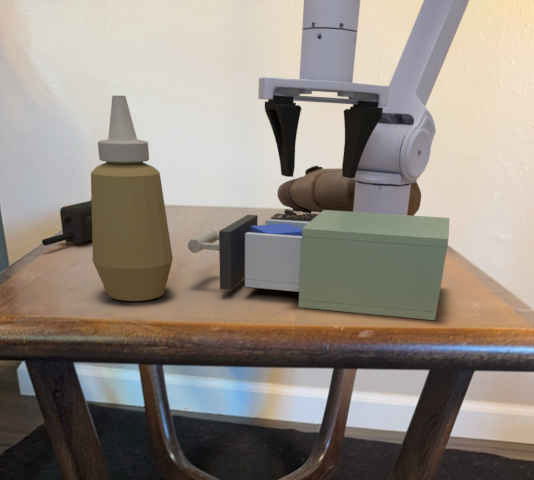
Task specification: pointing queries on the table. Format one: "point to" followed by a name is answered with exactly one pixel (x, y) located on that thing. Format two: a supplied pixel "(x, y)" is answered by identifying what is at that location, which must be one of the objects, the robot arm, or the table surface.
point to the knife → (289, 212)
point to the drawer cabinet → (373, 263)
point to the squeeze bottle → (128, 214)
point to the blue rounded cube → (277, 229)
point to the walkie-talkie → (74, 224)
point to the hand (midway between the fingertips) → (318, 176)
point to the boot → (329, 192)
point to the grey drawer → (254, 255)
